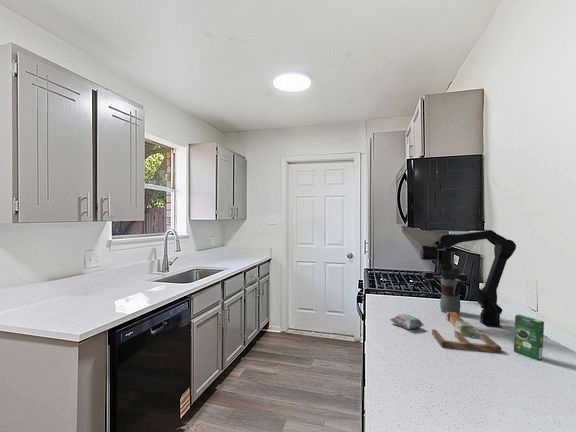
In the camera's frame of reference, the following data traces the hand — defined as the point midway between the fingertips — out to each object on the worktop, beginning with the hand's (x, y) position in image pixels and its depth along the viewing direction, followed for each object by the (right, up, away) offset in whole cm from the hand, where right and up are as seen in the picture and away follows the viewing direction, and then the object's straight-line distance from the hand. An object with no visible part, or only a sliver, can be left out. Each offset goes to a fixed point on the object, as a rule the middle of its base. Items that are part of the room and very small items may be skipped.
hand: (443, 294), depth 144 cm
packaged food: (-21, -12, -10) cm, 26 cm away
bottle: (+10, -13, +14) cm, 22 cm away
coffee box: (+11, -12, -36) cm, 40 cm away
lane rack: (-5, -12, -26) cm, 29 cm away
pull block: (+2, -12, -9) cm, 15 cm away
